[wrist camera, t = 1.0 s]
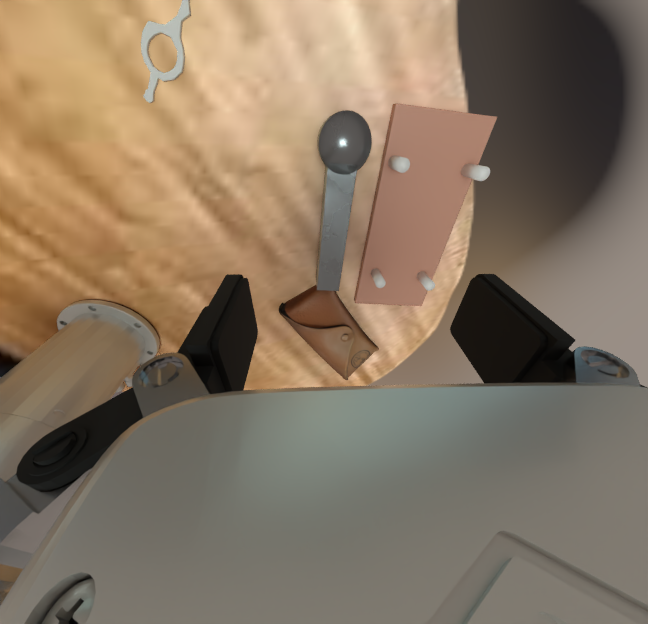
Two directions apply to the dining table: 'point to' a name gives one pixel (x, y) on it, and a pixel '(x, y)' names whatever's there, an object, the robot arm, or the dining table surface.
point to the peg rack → (419, 200)
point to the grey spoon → (338, 189)
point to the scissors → (174, 31)
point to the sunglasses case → (329, 329)
